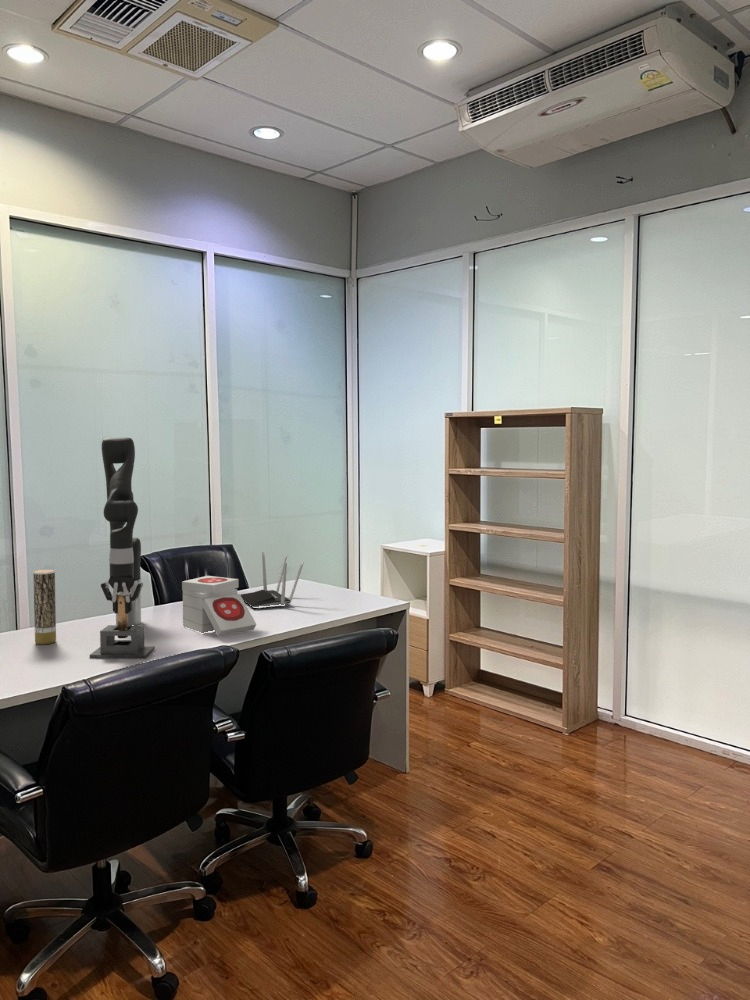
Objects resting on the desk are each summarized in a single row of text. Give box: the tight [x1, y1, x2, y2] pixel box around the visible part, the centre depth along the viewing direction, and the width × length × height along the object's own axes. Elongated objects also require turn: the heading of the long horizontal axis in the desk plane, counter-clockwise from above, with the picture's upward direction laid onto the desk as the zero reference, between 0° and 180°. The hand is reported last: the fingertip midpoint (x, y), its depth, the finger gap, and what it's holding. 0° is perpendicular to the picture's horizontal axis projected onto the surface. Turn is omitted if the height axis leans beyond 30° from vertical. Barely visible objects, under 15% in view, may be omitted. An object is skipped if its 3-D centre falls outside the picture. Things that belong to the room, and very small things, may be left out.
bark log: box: [32, 569, 57, 645], centre depth 265 cm, size 7×7×25 cm
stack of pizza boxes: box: [181, 575, 257, 637], centre depth 286 cm, size 19×30×18 cm, turn 42°
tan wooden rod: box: [117, 594, 129, 639], centre depth 252 cm, size 3×3×14 cm
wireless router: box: [240, 552, 305, 608], centre depth 335 cm, size 34×23×20 cm
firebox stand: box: [89, 624, 156, 660], centre depth 253 cm, size 11×18×8 cm, turn 90°
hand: (122, 612), depth 252 cm, fingers closed on tan wooden rod, 3 cm apart
